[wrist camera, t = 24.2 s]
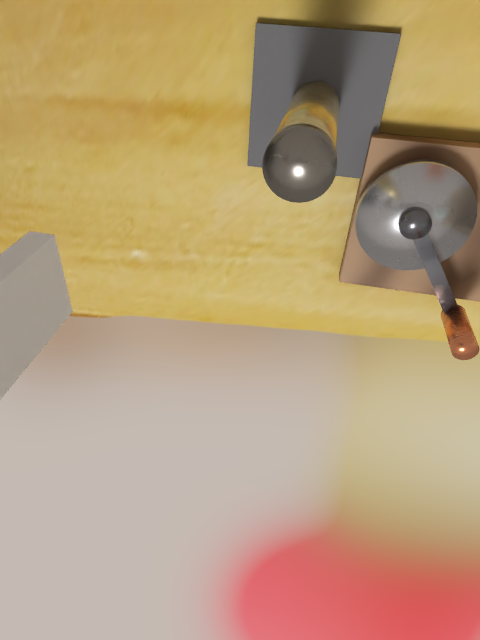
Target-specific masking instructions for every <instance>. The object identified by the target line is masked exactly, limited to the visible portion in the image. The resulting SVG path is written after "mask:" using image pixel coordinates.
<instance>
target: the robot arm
mask: <svg viewBox="0 0 480 640" xmlns="http://www.w3.org/2000/svg"><path fill="white" fill-rule="evenodd" d="M72 312H73V311H72V307H71V303H70V299H69V294H68V290H67V286H66V282H65V277H64V273H63V269H62V264H61V260H60V256H59V252H58V247H57V243H56V239H55V235H52V234H45V233H38V232H31V231H29V232H28V233H27V234H26V235H24V236H23V237H22V238H21V239H19V240H18V241H17V242H16V243H14V244H13V245H12V246H10V247H9V248H8V249H7V250H5V251H4V252H3V253H2V254H0V399H1V398H2V397H3V396H4V394H5V393H6V392H7V391H8V390H9V388H10V387H11V386H12V385H13V383H14V382H15V381H16V380H17V379H18V377H19V376H20V375H21V374H22V373H23V371H24V370H25V369H26V368H27V367H28V365H29V364H30V363H31V362H32V360H33V359H34V358H35V357H36V355H37V354H38V353H39V352H40V351H41V349H42V348H43V347H44V346H45V345H46V343H47V342H48V341H49V340H50V338H51V337H52V336H53V335H54V334H55V332H56V331H57V330H58V329H59V327H60V326H61V325H62V324H63V323H64V321H65V320H66V319H67V318H68V316H69V315H70V314H71V313H72Z"/></svg>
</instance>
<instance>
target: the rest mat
mask: <svg viewBox="0 0 480 640" xmlns="http://www.w3.org/2000/svg"><path fill="white" fill-rule="evenodd" d="M400 37H401V33H389V32H375V31H362V30H348V29H334V28H321V27H307V26H293V25H280V24H266V23H256V29H255V47H254V64H253V81H252V98H251V115H250V132H249V149H248V166H254V167H262V163H263V157H264V153H265V151H266V149H267V147H268V145H269V143H270V141H271V139H272V138H273V137H274V136H275V135H276V132H277V130H278V128H279V126H280V124H281V122H282V120H283V118H284V116H285V114H286V112H287V110H288V108H289V106H290V104H291V101H292V99H293V97H294V95H295V94H296V92H297V91H298V89H299V88H300V87H301V86H303V85H304V84H306V83H308V82H311V81H323V82H326V83H328V84H329V85H331V86H332V87H333V89H334V90H335V91H336V93H337V95H338V99H339V116H338V130H337V145H336V151H337V171H336V175H335V176H343V177H352V178H361V177H362V172H363V168H364V163H365V159H366V154H367V150H368V145H369V141H370V137H371V134H378V131H379V127H380V123H381V118H382V114H383V110H384V105H385V101H386V97H387V93H388V88H389V84H390V80H391V75H392V71H393V67H394V63H395V58H396V54H397V50H398V45H399V41H400Z"/></svg>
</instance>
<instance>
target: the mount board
mask: <svg viewBox="0 0 480 640" xmlns="http://www.w3.org/2000/svg"><path fill="white" fill-rule="evenodd" d="M413 159H434V160H438V161H442V162H444V163H447V164H449V165H451V166H453V167H454V168H456V169H457V170H458V171H460V172H461V173H462V175H463V176H464V177H465V178H466V180H467V181H468V183H469V184H470V186H471V187H472V189H473V191H474V194H475V196H476V201H477V218H476V222H475V225H474V228H473V231H472V232H471V234H470V236H469V238H468V239H467V240H466V242H465V243H464V244H463V246H462V247H461V248H460V249H459V250H458V251H456V252H455V253H454V254H453V255H452V256H450V257H449V258H447V259H446V260H444V261H442V262H440V264H441V266H442V268H443V271H444V273H445V276H446V278H447V281H448V283H449V286H450V288H451V291H452V293H453V295H454V298H458V299H466V300H473V301H480V143H475V142H465V141H455V140H445V139H435V138H425V137H415V136H405V135H395V134H385V133H378V134H371V137H370V141H369V145H368V150H367V154H366V159H365V163H364V168H363V172H362V177H361V178H360V183H359V187H358V192H357V196H356V201H355V205H354V210H353V214H352V219H351V223H350V227H349V232H348V236H347V241H346V245H345V250H344V254H343V259H342V263H341V268H340V272H339V282H344V283H351V284H358V285H365V286H373V287H380V288H387V289H394V290H401V291H408V292H415V293H423V294H430V295H436V293H435V291H434V288H433V286H432V284H431V281H430V279H429V277H428V274H427V272H426V270H425V268H423V269H418V270H397V269H392V268H388V267H386V266H383V265H381V264H379V263H377V262H376V261H374V260H373V259H371V258H370V257H369V256H368V255H367V254H366V253H365V251H364V250H363V249H362V247H361V245H360V243H359V241H358V238H357V234H356V226H355V213H356V208H357V204H358V201H359V199H360V197H361V195H362V193H363V191H364V190H365V188H366V187H367V186H368V184H369V183H370V182H371V181H372V180H373V179H374V178H375V177H376V176H377V175H379V174H380V173H381V172H383V171H384V170H386V169H387V168H389V167H391V166H393V165H395V164H398V163H400V162H404V161H407V160H413Z"/></svg>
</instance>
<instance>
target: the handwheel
mask: <svg viewBox="0 0 480 640" xmlns="http://www.w3.org/2000/svg"><path fill="white" fill-rule="evenodd" d="M476 218H477V201H476V196H475V194H474V191H473V189H472V187H471V186H470V184H469V183H468V181H467V180H466V178H465V177H464V176H463V175H462V173H461V172H460V171H458V170H457V169H456V168H454V167H453V166H451V165H449V164H447V163H444V162H442V161H438V160H434V159H413V160H407V161H404V162H400V163H398V164H395V165H393V166H391V167H389V168H387V169H386V170H384V171H383V172H381V173H380V174H379V175H377V176H376V177H375V178H374V179H373V180H372V181H371V182H370V183H369V184H368V186H367V187H366V188H365V190H364V191H363V193H362V195H361V197H360V199H359V201H358V204H357V208H356V213H355V226H356V234H357V238H358V241H359V243H360V245H361V247H362V249H363V250H364V251H365V253H366V254H367V255H368V256H369V257H370V258H371V259H373V260H374V261H376V262H377V263H379V264H381V265H383V266H386V267H388V268H392V269H397V270H418V269H423V268H425V270H426V272H427V274H428V277H429V279H430V281H431V284H432V286H433V288H434V291H435V293H436V295H437V298H438V300H439V302H440V305H441V307H442V309H443V310H442V312H441V318H442V321H443V325H444V328H445V332H446V335H447V338H448V342H449V345H450V348H451V352H452V355H453V356H454V357H455V358H457V359H460V360H468V359H471V358H473V357H475V356H476V355H477V354H478V352H479V346H478V344H477V341H476V338H475V336H474V333H473V330H472V328H471V325H470V322H469V320H468V317H467V314H466V312H465V309H464V308H463V307H462V306H459V305H457V303H456V300H455V298H454V295H453V293H452V291H451V288H450V286H449V283H448V281H447V278H446V276H445V273H444V271H443V268H442V266H441V264H440V262H442V261H444V260H446V259H447V258H449V257H450V256H452V255H453V254H454V253H455V252H456V251H458V250H459V249H460V248H461V247H462V246H463V244H464V243H465V242H466V240H467V239H468V238H469V236H470V234H471V232H472V231H473V228H474V225H475V222H476Z"/></svg>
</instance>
